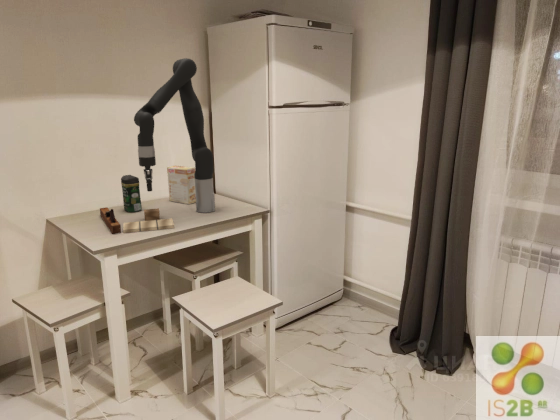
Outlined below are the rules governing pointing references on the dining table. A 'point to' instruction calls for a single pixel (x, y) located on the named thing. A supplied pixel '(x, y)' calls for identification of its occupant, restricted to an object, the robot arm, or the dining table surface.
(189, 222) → the dining table surface
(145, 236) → the dining table surface
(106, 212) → the hand plane
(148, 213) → the block
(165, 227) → the board
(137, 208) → the coffee jar
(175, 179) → the coffeecake box
